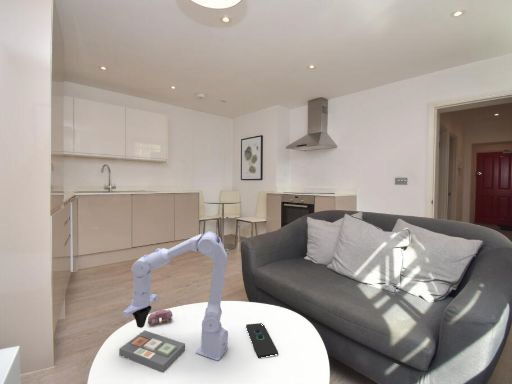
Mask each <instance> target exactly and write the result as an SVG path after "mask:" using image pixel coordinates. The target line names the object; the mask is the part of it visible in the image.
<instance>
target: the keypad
mask: <svg viewBox="0 0 512 384" xmlns="http://www.w3.org/2000/svg"><path fill="white" fill-rule="evenodd" d="M139 337H143V338H146V339H149V341H150V340H151V339H152V338H153V339H156V340H159V341H162V346H163V345H164V344H165V343H168V344H171V345H174V346H176V350H175V351H174V352H173V353H172V354H171V355H170V356H169V357H165V356H163V355H160V354H157V350H158V349H159V348H161V347H162V346H160V347H159V348H158V349H157V350H156V351H155V352H152V351H149V350H146V349H144V345H145V344H146V343H145V344H144V345H143V346H141V347H138V346H135V345H132V344H131V343H132V342H133V341H134V340H136V339H137V338H139ZM149 341H148V342H149ZM118 350H119V351H118V352H119V353H118V355H119V356H120V355H122V356H124V357H123V358H125V357H126V358H125V359H127V358H129V359H128V360H130V361H133V362H136V363H138V364H140V365H144V366H146V367H148V368H151V369H153V370H156V371H159V372H161V373H164V372H165V371H166V370H167V369H168V368H169V367H170V366H171V365H172V364H173V363H174V361H176V360H177V359H178V358H179V357H181V355H182V354H183V353H184V352H185V350H186V343H184V342H181V341H178V340H176V339H172V338H168V337H167V336H164V335H160V334H158V333H154V332H152V331H148V330H143V331H142V332H140V333H139V334H138V335H136V336H135V337H133V338H132V339H130V340H129V341H128V342H126V343H125V344H124V345H122V346H120V347H119V348H118ZM122 356H121V357H122Z"/></svg>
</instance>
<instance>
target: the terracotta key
mask: <svg viewBox="0 0 512 384" xmlns="http://www.w3.org/2000/svg"><path fill="white" fill-rule="evenodd" d="M148 341H149V339H146V338H143V337H139V338H137V339H136V340H134V341H133V342H132V343H131V344H132V345H135V346H138V347H141V346H143V345H144V344H145V343H147V342H148Z"/></svg>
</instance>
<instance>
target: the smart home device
mask: <svg viewBox="0 0 512 384" xmlns="http://www.w3.org/2000/svg"><path fill="white" fill-rule="evenodd" d="M262 323H263V322H260V323H249V324H246V325H245V329H246V328H247V330H246V332H247V331H248V332H247V334H248V333H249V335H248V337H249V336H250V337H249V340H250V339H251V340H250V342H251V341H252V342H251V345H252V344H253V345H252V347H253V350H254V352H255V355H256V356H257V358H258V359H262V358H261V357H266V356H270V355H275V354H278V355H279V350H278V349H277V347H276V345H275V343H274V341H273V339H272V338H271V335H270V334H269V332H268V330H267V327H266V326H265V324H264V323H263V324H264V325H263V324H262ZM261 324H262V325H263V326H262V325H261ZM265 327H266V328H265ZM266 358H267V357H266Z"/></svg>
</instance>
